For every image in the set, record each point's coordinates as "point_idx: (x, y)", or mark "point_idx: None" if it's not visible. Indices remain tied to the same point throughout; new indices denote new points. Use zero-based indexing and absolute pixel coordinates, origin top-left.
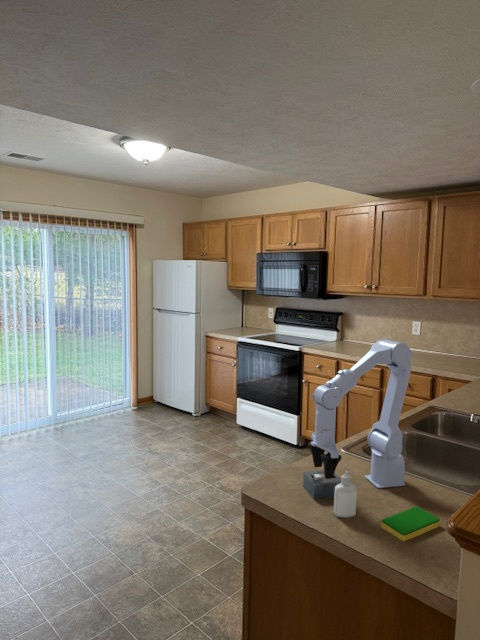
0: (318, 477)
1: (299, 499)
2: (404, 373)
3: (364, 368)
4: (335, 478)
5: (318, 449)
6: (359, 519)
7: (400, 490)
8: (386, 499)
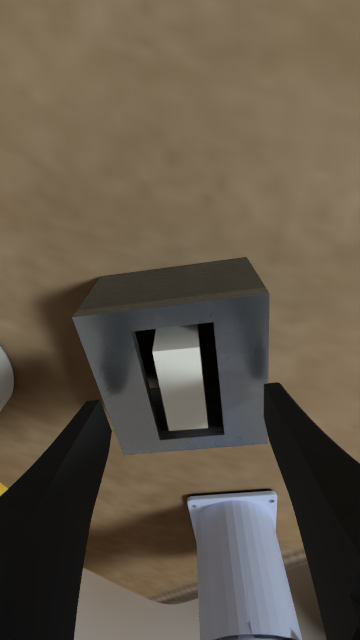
0: (155, 362)
1: (94, 197)
2: None
3: None
4: (151, 433)
5: (320, 550)
6: None
7: (173, 529)
8: (118, 492)
